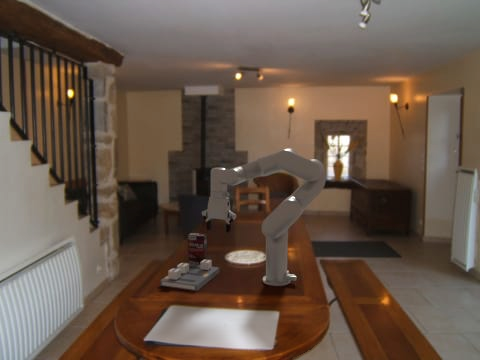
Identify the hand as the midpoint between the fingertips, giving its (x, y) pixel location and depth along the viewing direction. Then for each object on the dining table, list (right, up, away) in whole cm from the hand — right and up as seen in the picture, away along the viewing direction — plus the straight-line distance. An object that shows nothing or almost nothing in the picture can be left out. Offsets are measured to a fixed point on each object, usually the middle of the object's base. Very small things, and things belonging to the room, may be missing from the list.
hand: (218, 230), depth 191 cm
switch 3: (-6, -18, +5) cm, 20 cm away
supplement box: (-12, -20, +19) cm, 30 cm away
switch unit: (-13, -22, -1) cm, 25 cm away
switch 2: (-16, -19, 0) cm, 25 cm away
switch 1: (-19, -20, -7) cm, 29 cm away
